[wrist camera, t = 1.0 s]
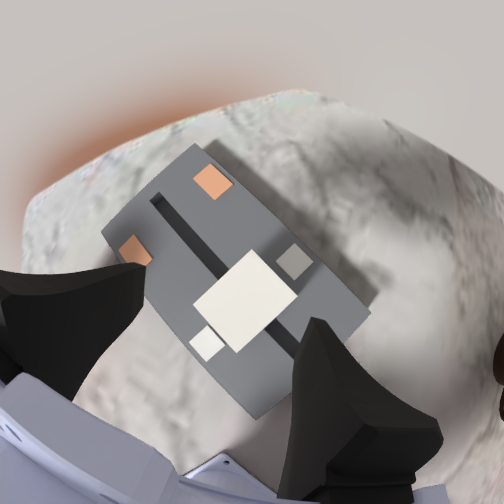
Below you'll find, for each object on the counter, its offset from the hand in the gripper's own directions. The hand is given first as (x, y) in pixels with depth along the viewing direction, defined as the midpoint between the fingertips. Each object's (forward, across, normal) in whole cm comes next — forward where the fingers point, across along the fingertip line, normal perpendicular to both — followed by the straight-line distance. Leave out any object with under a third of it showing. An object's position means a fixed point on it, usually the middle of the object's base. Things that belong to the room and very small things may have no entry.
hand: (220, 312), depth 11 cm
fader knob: (+9, -1, +4) cm, 10 cm away
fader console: (+11, +2, +4) cm, 12 cm away
